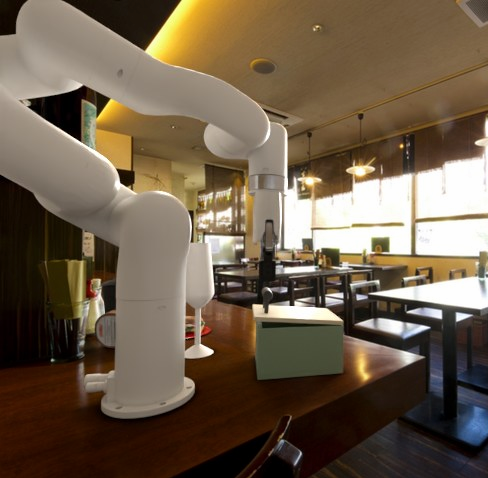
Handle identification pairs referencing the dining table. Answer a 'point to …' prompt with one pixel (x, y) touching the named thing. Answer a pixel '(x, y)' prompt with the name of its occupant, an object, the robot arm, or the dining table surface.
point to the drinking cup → (109, 295)
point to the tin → (106, 329)
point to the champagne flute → (199, 291)
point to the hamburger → (191, 327)
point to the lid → (292, 313)
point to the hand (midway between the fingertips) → (267, 281)
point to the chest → (297, 349)
